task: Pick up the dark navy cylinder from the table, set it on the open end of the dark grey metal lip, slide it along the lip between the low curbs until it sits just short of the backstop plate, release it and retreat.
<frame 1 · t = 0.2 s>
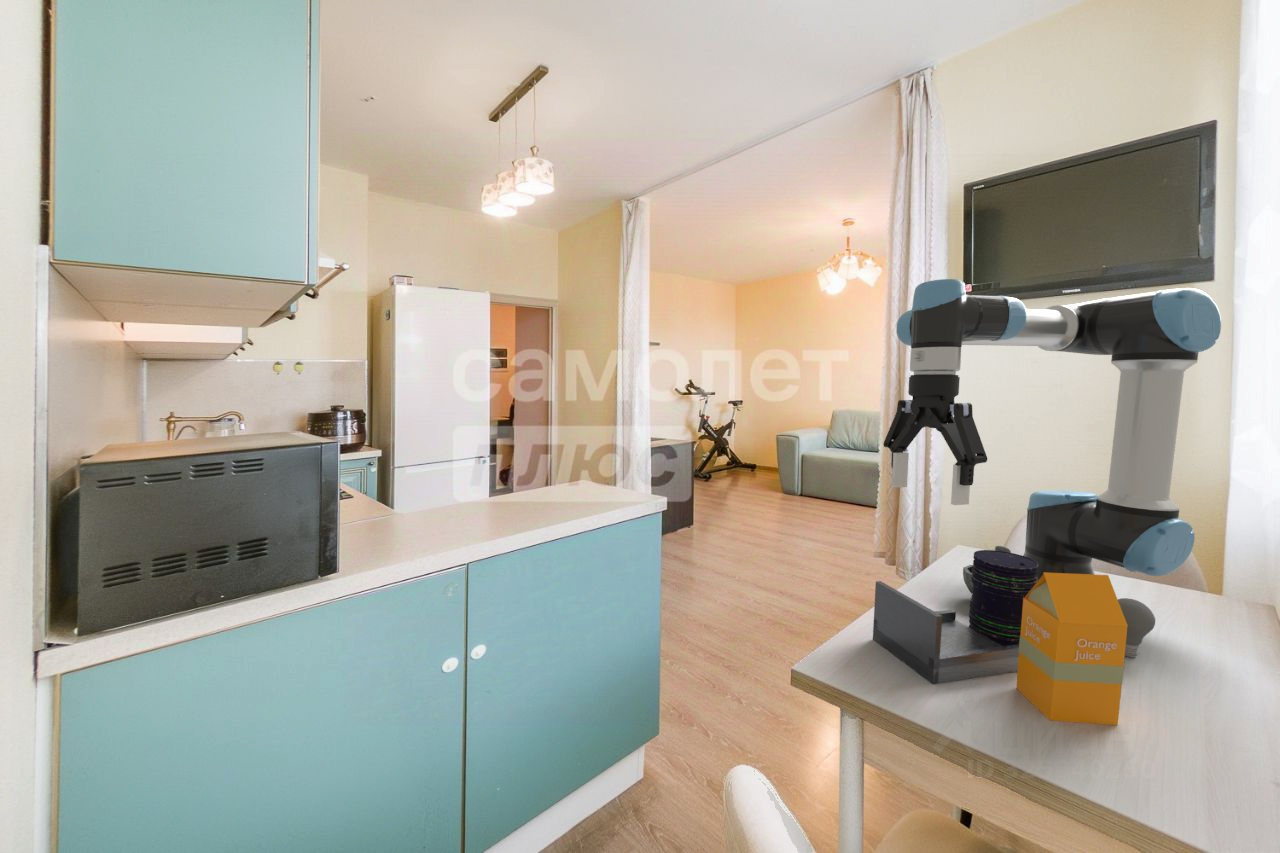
hand: (927, 495, 88), 27 cm above the table, fingers open, 13 cm apart
orange juice: (1064, 707, 74), on the table
mortar and pestle: (989, 604, 108), on the table
light bulb: (1126, 656, 87), on the table
dark navy cylinder: (999, 637, 94), on the table
metal lip: (942, 654, 87), on the table
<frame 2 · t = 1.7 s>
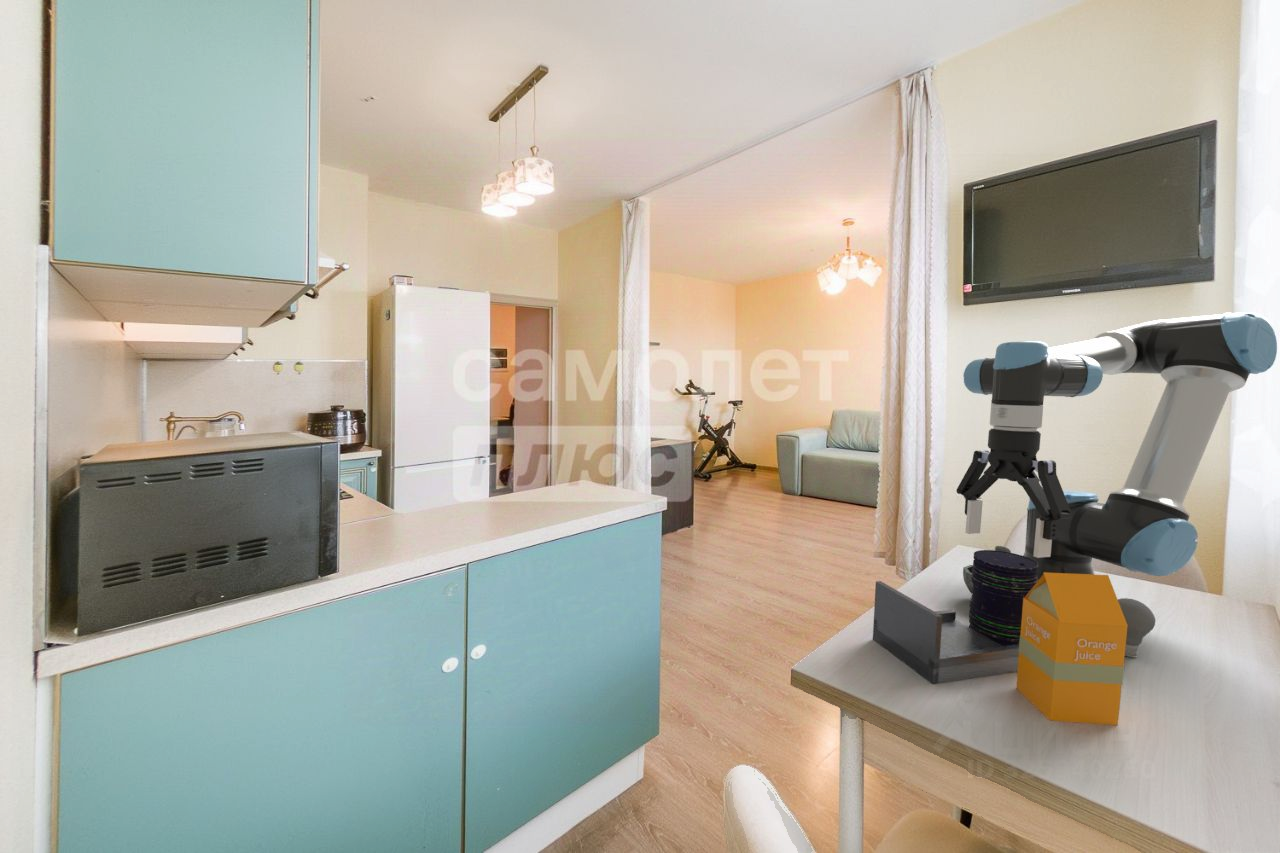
hand: (1004, 544, 92), 18 cm above the table, fingers open, 13 cm apart
nothing on the table moved.
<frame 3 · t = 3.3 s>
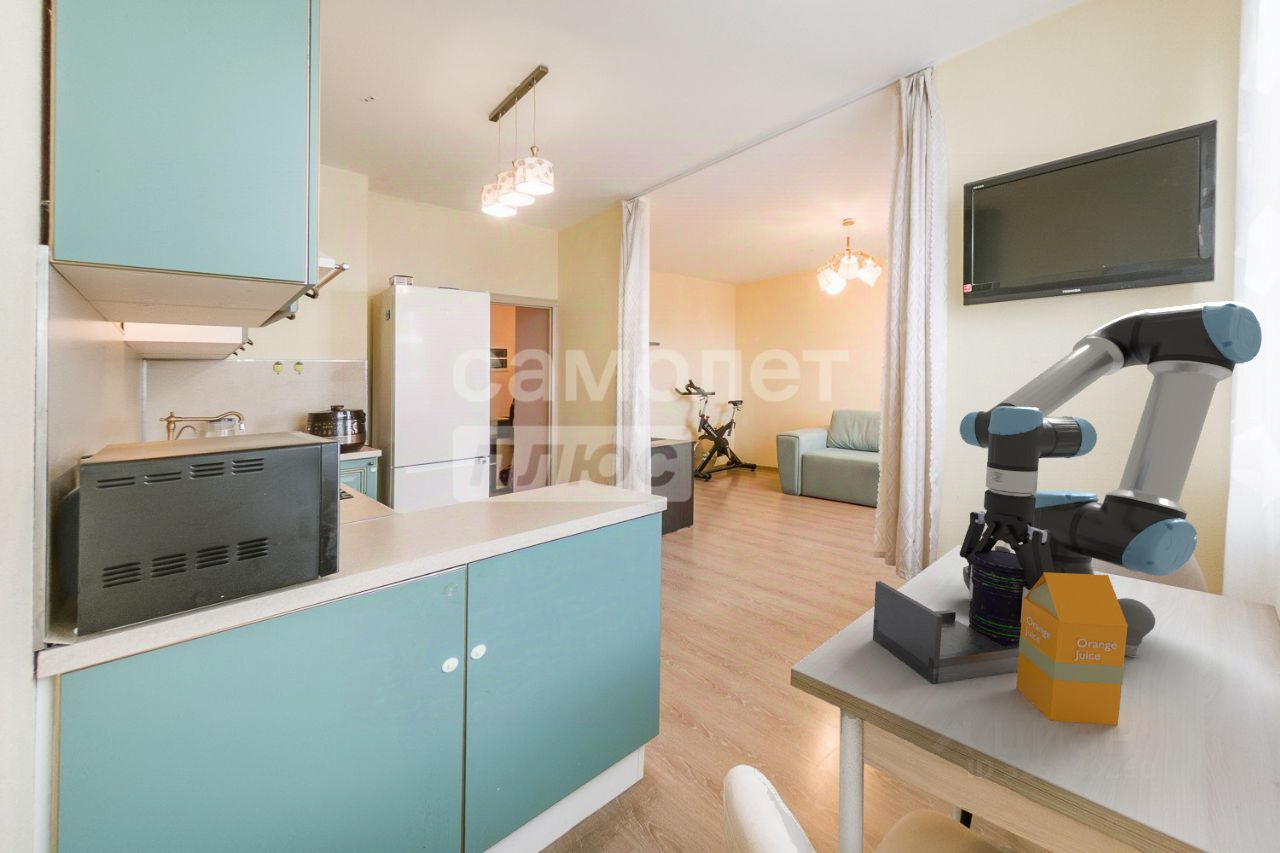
hand: (1001, 609, 93), 5 cm above the table, fingers closed on dark navy cylinder, 10 cm apart
dark navy cylinder: (999, 637, 94), on the table, touching gripper
everything else where it was.
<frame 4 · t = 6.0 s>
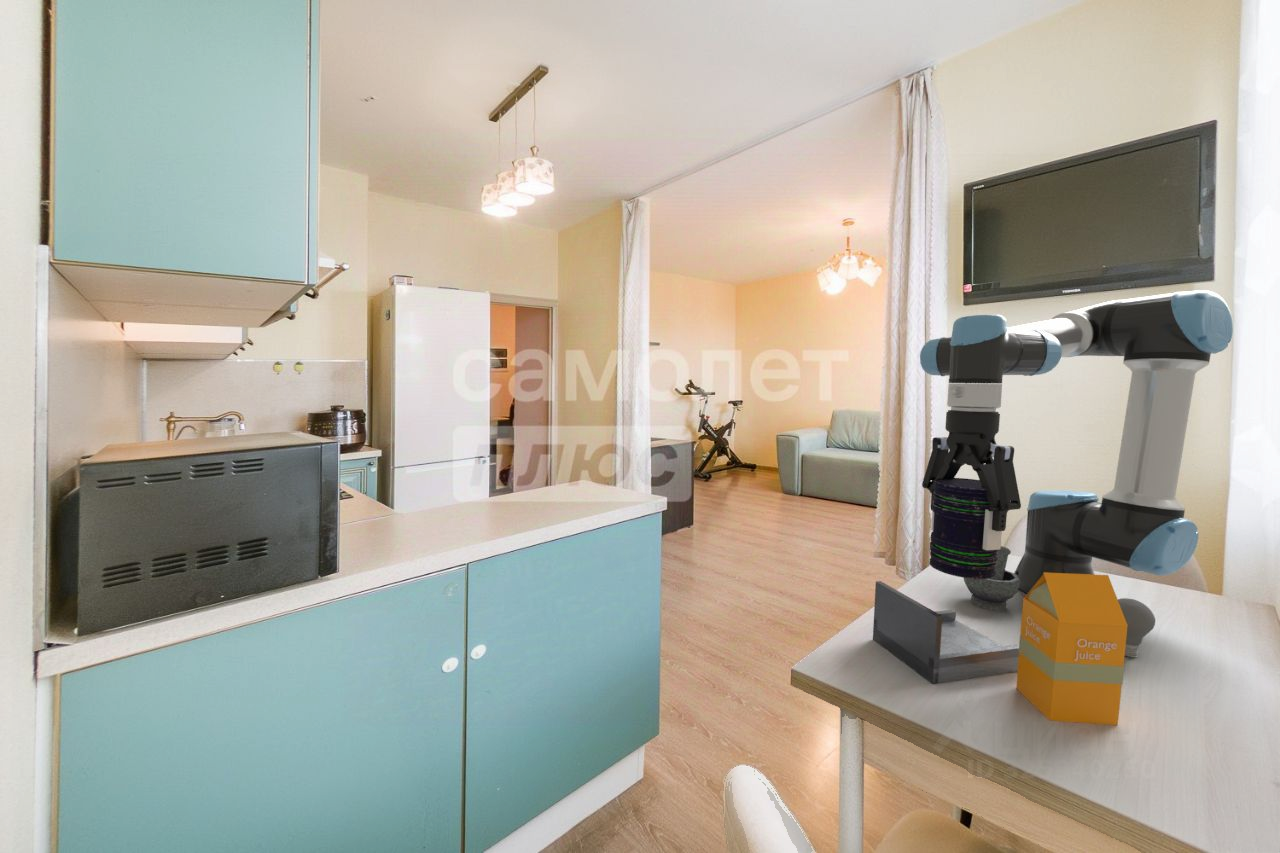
hand: (963, 539, 86), 20 cm above the table, fingers closed on dark navy cylinder, 10 cm apart
dark navy cylinder: (961, 569, 87), point 15 cm above the table, touching gripper
everything else where it was.
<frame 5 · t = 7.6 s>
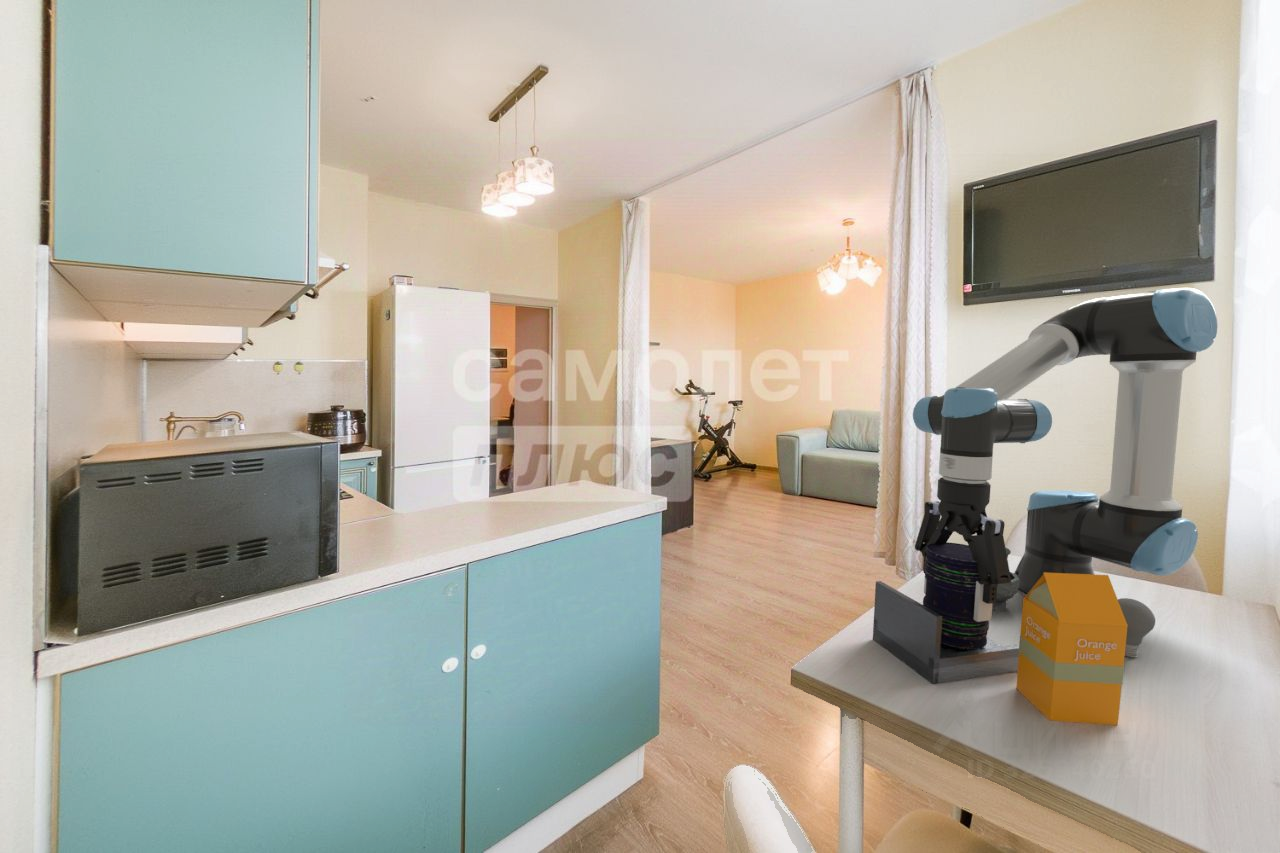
hand: (955, 605, 87), 9 cm above the table, fingers closed on dark navy cylinder, 10 cm apart
dark navy cylinder: (953, 635, 87), point 3 cm above the table, touching gripper
everything else where it was.
when the fingers open (8 cm above the table, at t = 8.7 s): dark navy cylinder stays where it is, resting on metal lip.
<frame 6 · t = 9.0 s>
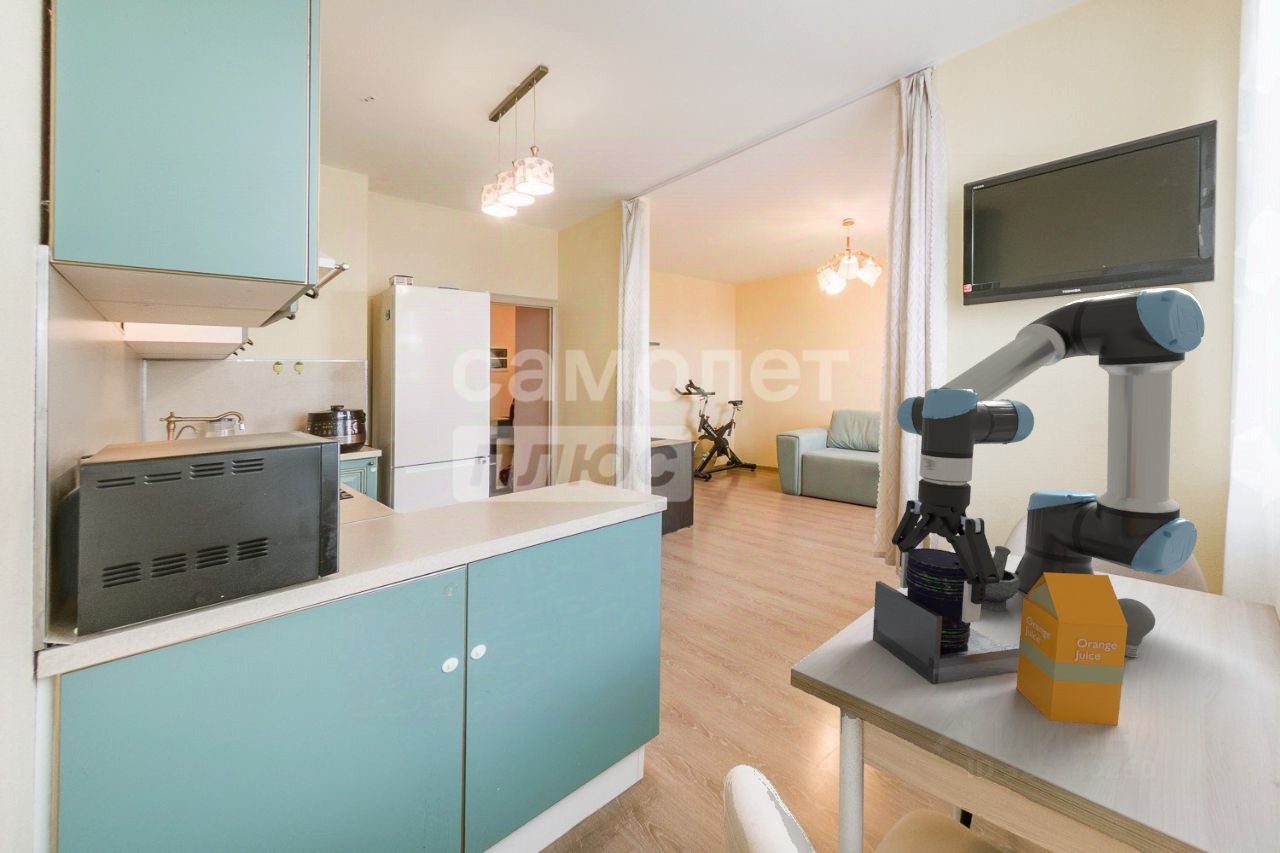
hand: (936, 602, 86), 9 cm above the table, fingers open, 13 cm apart
dark navy cylinder: (934, 642, 87), point 2 cm above the table, touching metal lip
everything else where it was.
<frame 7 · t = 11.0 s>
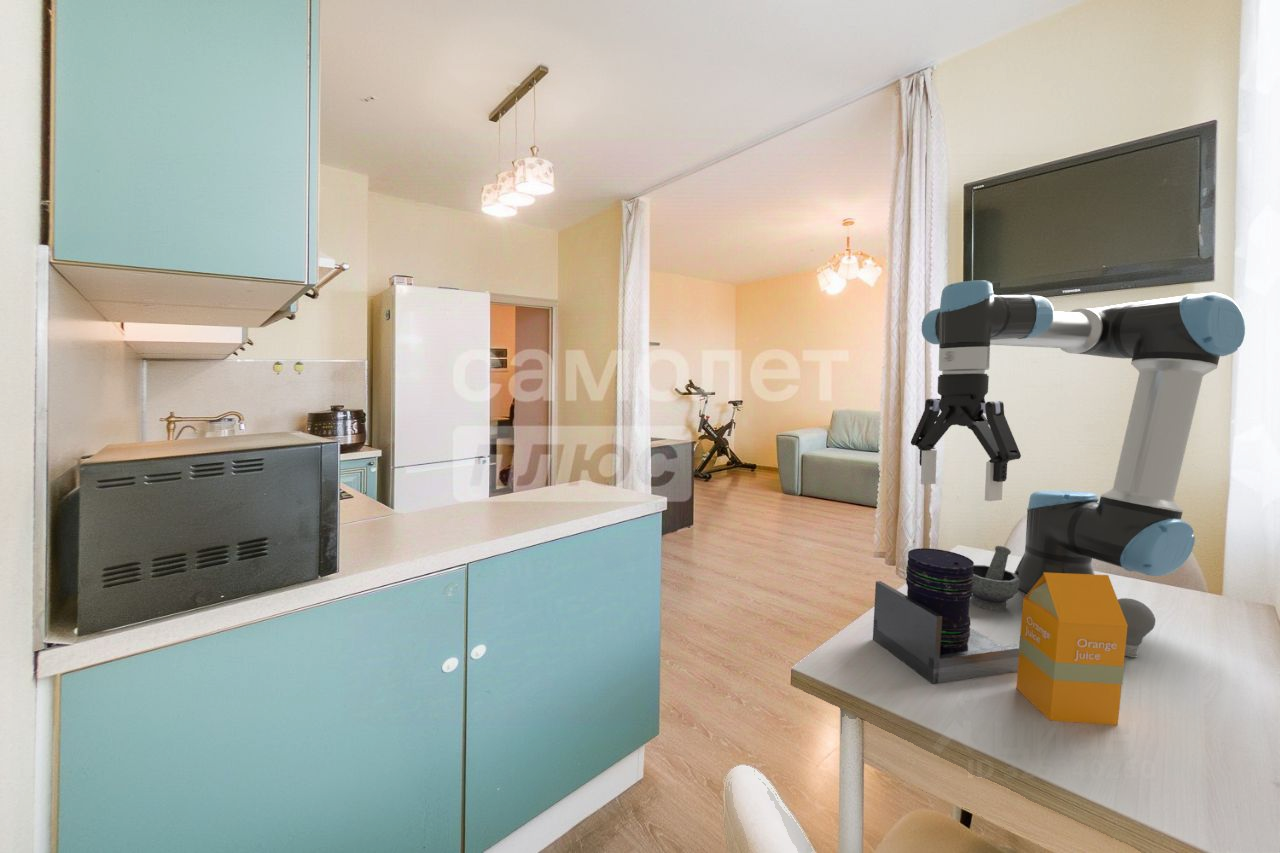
hand: (958, 491, 90), 28 cm above the table, fingers open, 13 cm apart
nothing on the table moved.
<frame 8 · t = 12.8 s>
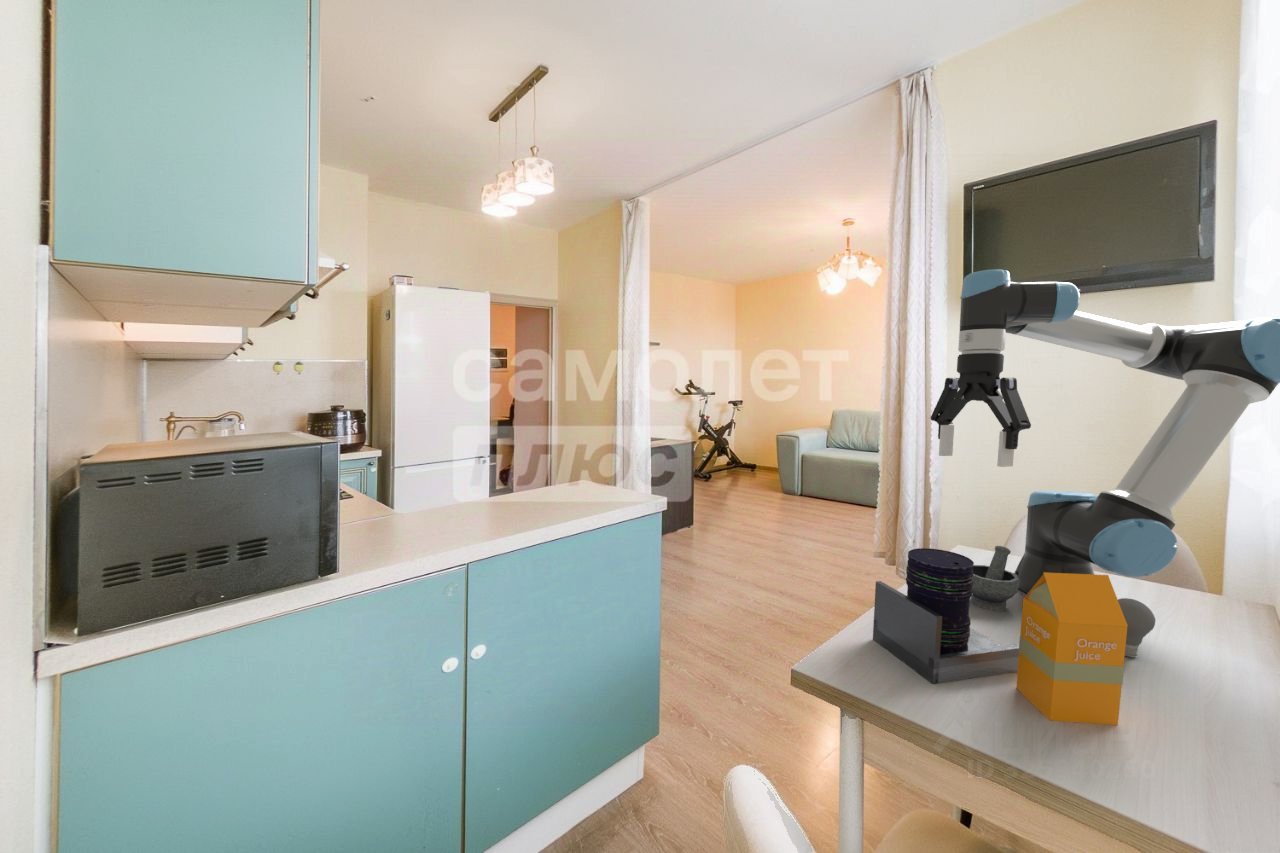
hand: (973, 460, 100), 32 cm above the table, fingers open, 13 cm apart
nothing on the table moved.
at the end: dark navy cylinder inside the target area (0.7 cm from its centre), point 2.3 cm above the table; dark navy cylinder tilted 0°; the gripper is holding nothing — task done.
